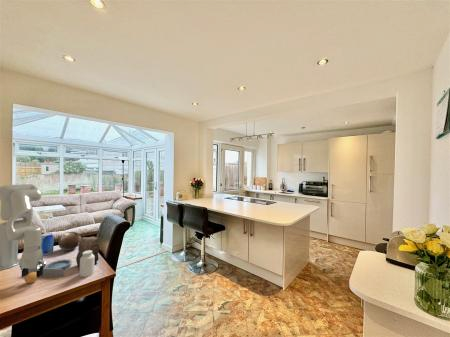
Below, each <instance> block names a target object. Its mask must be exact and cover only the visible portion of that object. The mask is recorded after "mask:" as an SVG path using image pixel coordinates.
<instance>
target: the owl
mask: <svg viewBox="0 0 450 337" xmlns="http://www.w3.org/2000/svg"><path fill="white" fill-rule="evenodd" d="M80 239H81V241H80V243H79V245H78V246H77V250H78V252H77V255H76V258H75V259H76V265H77V267H76V268H78V271H80V258H81V257H82V256H83V255H82V253H83V252H84V251H88V250H91V251H92V254H93V255H94V256H95V260H94V267H95V266H96V265H98V261H99V260H100V258H99V250H100V237H97V236H93V235H92V236H89V237H87V236H86V237H85V236H83V237H82V236H81V238H80Z"/></svg>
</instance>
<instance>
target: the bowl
mask: <svg viewBox="0 0 450 337" xmlns="http://www.w3.org/2000/svg"><path fill="white" fill-rule="evenodd" d="M72 264H73V263H72V260H71V259H59V260H55V261H52V262H50V263H48V264H46V265H45V267H44V268H57V269H63V271H66V270H68V269H69V268H71V266H72Z"/></svg>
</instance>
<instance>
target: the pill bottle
mask: <svg viewBox="0 0 450 337" xmlns="http://www.w3.org/2000/svg"><path fill="white" fill-rule="evenodd" d="M82 255H83V256H82V257H81V258H80V270H79V276H80V278H81V277H82V278H86V277H90V276H92V275H93V274H94V273H95V266H94V260H95V256H94V255H93V254H92V251H91V250H88V251H84V252H83V253H82Z"/></svg>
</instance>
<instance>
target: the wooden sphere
mask: <svg viewBox="0 0 450 337" xmlns="http://www.w3.org/2000/svg"><path fill="white" fill-rule="evenodd" d="M81 237H82V236H81V235H80V234H79V233H78V232H75V231H70V232H66V233H65V234H63V235H61V237H59V240H58V247H59V248H60V249H61V250H63V251H72V250H74V249H76V248H78V245H79V243H80V241H81V239H80V238H81Z"/></svg>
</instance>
